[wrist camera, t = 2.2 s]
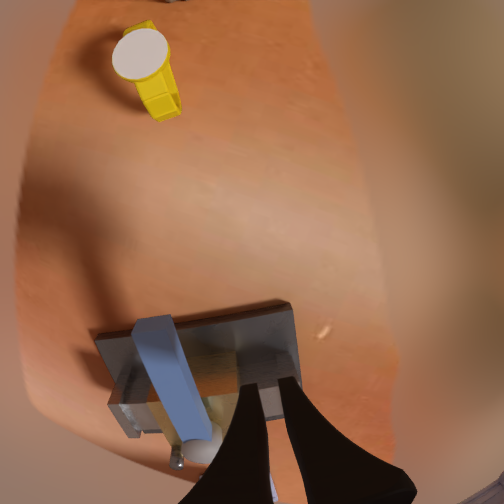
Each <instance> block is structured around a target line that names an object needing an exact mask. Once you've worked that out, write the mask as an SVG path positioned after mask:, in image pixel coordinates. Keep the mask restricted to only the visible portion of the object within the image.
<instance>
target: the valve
mask: <svg viewBox="0 0 504 504" xmlns="http://www.w3.org/2000/svg"><path fill="white" fill-rule="evenodd" d="M174 326H175V329H176V332H177V335H178V338H179V341H180V344H181V346H182V349H183V352H184V355H185V358H186V360H187V363H188V366H189V369H190V371H191V374H192V377H193V379H194V382H195V384H196V387H197V390H198V392H199V395H200V397H201V400H202V402H203V405H204V407H205V410H206V412H207V415H208V417H209V419H210V421H213V422H215V423H217V424H218V425H219V426H220V427H221V429H222V442H223V440H224V437H225V435H226V433H227V431H228V428H229V426H230V423H231V420H232V417H233V414H234V411H235V408H236V404H237V401H238V396H239V390H240V387H241V386H242V385H247V384H253V383H257V385H258V390H259V394H260V398H261V402H262V406H263V411H264V415H265V421H271V420H276V419H282V418H284V413H283V408H282V402H281V397H280V391H279V386H278V380H277V379H279V378H284V377H289V376H293V377H295V378H296V380H297V382H298V384H299V386H300V387H301V389H302V380H301V371H300V363H299V355H298V347H297V339H296V331H295V323H294V315H293V309H292V306H291V304H290V303H287V304H282V305H277V306H272V307H267V308H262V309H257V310H252V311H246V312H241V313H235V314H230V315H224V316H218V317H212V318H206V319H200V320H194V321H188V322H182V323H175V324H174ZM131 333H132V330H126V331H118V332H110V333H102V334H98V336H97V337H96V339H95V343H96V345H97V347H98V350H99V352H100V354H101V356H102V358H103V360H104V362H105V364H106V366H107V368H108V370H109V372H110V374H111V376H112V378H113V380H114V382H115V386H114V388H113V391H112V393H111V396H110V398H109V401H108V404H107V405H108V407H109V408H110V410H111V412H112V413H113V415H114V416H115V418H116V420H117V421H118V423H119V424H120V426H121V427H122V429H123V430H124V432H125V433H126V435H127V436H128V438H140V435H141V431H142V430H143V432H144V433H164V435H165V437H166V439H167V440H168V442H169V444H170V445H171V447H172V449H171V456H170V464H169V466H170V468H172V469H174V470H182V469H183V466H184V456H183V455H182V453H181V447H182V440H181V438H180V436H179V435H178V433H177V431H176V429H175V427H174V425H173V424H172V422H171V420H170V418H169V416H168V414H167V412H166V410H165V408H164V406H163V404H162V402H161V400H160V398H159V396H158V394H157V392H156V390H155V388H154V386H153V383H152V381H151V379H150V377H149V375H148V373H147V370H146V368H145V366H144V364H143V361H142V359H141V357H140V355H139V352H138V350H137V348H136V345H135V343H134V340H133V338H132V335H131ZM302 391H303V389H302Z"/></svg>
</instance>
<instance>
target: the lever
mask: <svg viewBox="0 0 504 504" xmlns="http://www.w3.org/2000/svg"><path fill="white" fill-rule="evenodd" d="M131 335H132V338H133V340H134V343H135V345H136V348H137V350H138V352H139V355H140V357H141V359H142V361H143V364H144V366H145V368H146V370H147V373H148V375H149V377H150V379H151V381H152V383H153V386H154V388H155V390H156V392H157V394H158V396H159V398H160V400H161V402H162V404H163V406H164V408H165V410H166V412H167V414H168V416H169V418H170V420H171V422H172V424H173V425H174V427H175V429H176V431H177V433H178V435H179V436H180V438H181V440H182V447H181V453H182V455H183V456H184V457H185V458H186V459H188V460H189V461H192V462H195V463H201V464H208V463H211V462H212V460H213V459H214V457H215V455H216V453H217V452H218V450H219V448H220V446H221V444H222V429H221V427H220V426H219V425H218V424H217V423H215V422H213V421H210V419H209V417H208V415H207V412H206V410H205V407H204V405H203V402H202V400H201V397H200V395H199V392H198V390H197V387H196V384H195V382H194V379H193V377H192V374H191V371H190V369H189V366H188V363H187V360H186V358H185V355H184V352H183V349H182V346H181V344H180V341H179V338H178V335H177V332H176V329H175V326H174V323H173V320H172V317H171V314H169V315H163V316H156V317H150V318H143V319H138V320H137V322H136V324H135V326H134V328H133V330H132V333H131Z"/></svg>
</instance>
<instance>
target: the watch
mask: <svg viewBox="0 0 504 504" xmlns="http://www.w3.org/2000/svg"><path fill="white" fill-rule="evenodd" d="M169 58H170V46H169V44H168V42H167V40H166V38H165V37H164V36H163V35H162V34H161V33H160V32H158V31H157V29H156V28H155V26H154V24H153V23H152V21H151V20H146V21H143V22H141V23H138V24H136V25H133V26H131V27H129V28H127V29H126V30H125V31H124V32H123V38H122V39H121V40H120V41H119V42H118V44H117V45H116V47H115V49H114V51H113V55H112V66H113V68H114V71H115V73H116V74H118V75H119V76H120V77H121V78H122V79H124V80H126V81H128V82H131V83H134V84H135V87H136V89H137V91H138V94H139V96H140V98H141V101H143V104H144V106H145V108H146V109H147V111H148V112H149V114H150V116H151V117H152V118H153V119H155V120H156V121H158V122H161V121H164V120H167V119H169V118H172V117H175V116H178V115H180V114H181V111H182V106H181V101H180V96H179V93H178V89H177V86H176V83H175V80H174V76H173V73H172V70H171V66H170V63H169Z"/></svg>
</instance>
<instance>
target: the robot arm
mask: <svg viewBox="0 0 504 504" xmlns="http://www.w3.org/2000/svg"><path fill="white" fill-rule="evenodd" d="M277 380H278V386H279V391H280V397H281V402H282V408H283V413H284V418H285V423H286V428H287V432H288V435H289V438H290V441H291V444H292V448H293V451H294V454H295V457H296V460H297V463H298V466H299V469H300V472H301V475H302V478H303V482H304V487H305V492H306V496H307V501H308V504H411V503H412V502H413V500H414V498H415V496H416V494H417V489H416V487H415V485H414V483H413V482H412V481H411V479H410V478H409V476H408V475H407V474H406V473H405V472H404V471H403V470H402V469H400V468H398V467H395V466H393V465H391V464H389V463H387V462H385V461H383V460H381V459H379V458H377V457H375V456H373V455H372V454H370V453H368V452H367V451H365V450H364V449H362V448H361V447H359V446H358V445H356V444H355V443H353V442H352V441H351V440H349V439H348V438H347V437H345V436H344V435H343V434H342V433H341V432H339V431H338V430H337V429H336V428H335V427H334V426H333V425H332V424H331V423H330V422H329V421H328V420H327V419H326V418H325V417H324V416H323V415H322V414H321V413H320V412H319V411H318V410H317V409H316V407H315V406H314V405H313V404H312V403H311V401H310V400H309V399H308V398H307V396H306V395H305V393H304V392H303V391H302V389H301V387H300V386H299V384H298V382H297V380H296V378H295V377H293V376H289V377H284V378H279V379H277ZM276 501H278V496H277V493H276V490H275V487H274V484H273V480H272V477H271V474H270V466H269V446H268V433H267V427H266V421H265V415H264V411H263V406H262V402H261V398H260V394H259V390H258V385H257V383H253V384H247V385H242V386H241V387H240V390H239V396H238V401H237V404H236V408H235V411H234V414H233V417H232V420H231V423H230V426H229V428H228V431H227V433H226V435H225V437H224V440H223V442H222V444H221V446H220V448H219V450H218V452H217V453H216V455H215V457H214V459H213V460H212V462H211V464H210V465H209V467H208V468H207V470H206V471H205V473H204V474H203V475H201V476H200V477H199V481H198V482H197V483H196V484H195V486H194V487H193V488H192V489H191V490H190V492H189V493H188V494H187V495H186V496H185V497H184V498H183V499H182V500H181V501H180V502H179V503H178V504H274V502H276ZM458 504H504V471H503V472H502V474H501V475H500V476H499V478H498V479H497V480H496V481H494V482H493V483H491V484H489V485H488V486H486V487H485V488H483V489H482V490H480V491H479V492H477V493H475V494H474V495H472V496H471V497H469V498H467V499H465V500H464V501H462V502H460V503H458Z"/></svg>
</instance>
